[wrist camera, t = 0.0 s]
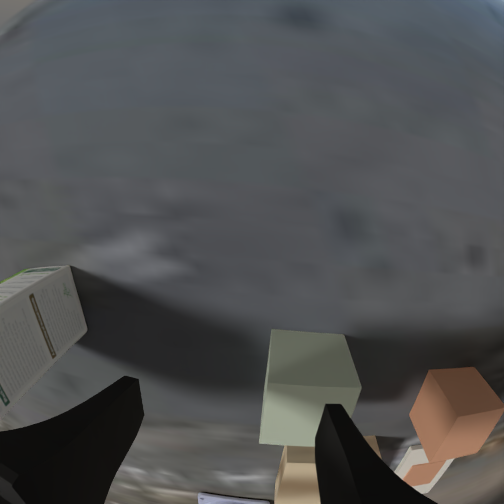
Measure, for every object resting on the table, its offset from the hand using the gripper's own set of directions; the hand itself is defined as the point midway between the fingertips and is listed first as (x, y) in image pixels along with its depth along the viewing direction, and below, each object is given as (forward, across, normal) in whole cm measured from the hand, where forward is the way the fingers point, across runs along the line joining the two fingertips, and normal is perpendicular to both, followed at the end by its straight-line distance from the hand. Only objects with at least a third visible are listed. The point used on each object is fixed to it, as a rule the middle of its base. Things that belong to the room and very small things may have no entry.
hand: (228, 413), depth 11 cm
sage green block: (+10, -4, +4) cm, 12 cm away
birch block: (+10, -8, +16) cm, 21 cm away
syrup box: (+10, +16, +2) cm, 19 cm away
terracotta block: (+10, -17, +7) cm, 21 cm away
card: (+10, -20, +19) cm, 29 cm away
